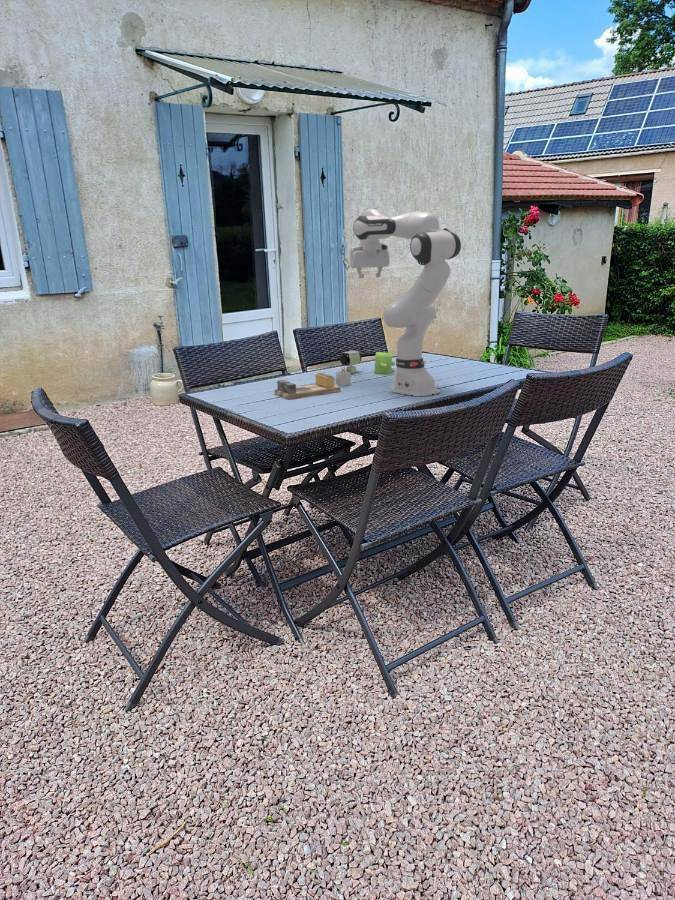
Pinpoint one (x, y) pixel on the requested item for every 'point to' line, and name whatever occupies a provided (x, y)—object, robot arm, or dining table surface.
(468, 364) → the dining table surface
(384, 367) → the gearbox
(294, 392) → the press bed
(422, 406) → the dining table surface
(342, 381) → the housing
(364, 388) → the dining table surface
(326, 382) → the yellow orange block
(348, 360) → the pneumatic valve
